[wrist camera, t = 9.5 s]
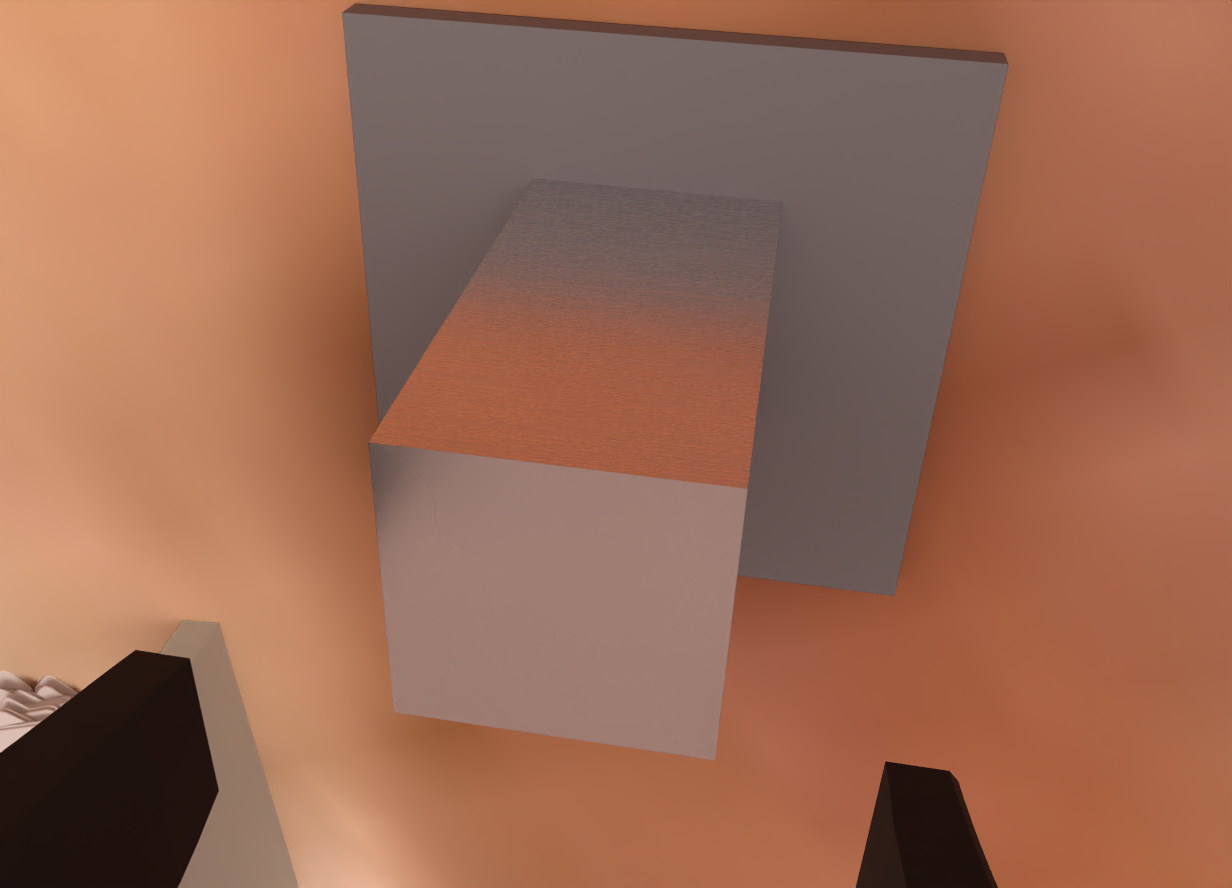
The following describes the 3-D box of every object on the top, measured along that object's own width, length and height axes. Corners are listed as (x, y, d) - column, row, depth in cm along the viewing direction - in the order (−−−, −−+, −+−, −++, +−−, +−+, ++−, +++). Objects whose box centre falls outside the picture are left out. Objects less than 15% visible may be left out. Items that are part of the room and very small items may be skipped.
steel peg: (781, 201, 19) (747, 488, 12) (756, 416, 21) (715, 760, 14) (534, 178, 19) (368, 443, 12) (534, 390, 21) (393, 711, 15)
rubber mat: (1004, 53, 17) (1008, 64, 17) (893, 576, 23) (894, 596, 22) (355, 3, 19) (342, 12, 18) (398, 512, 24) (388, 530, 24)
